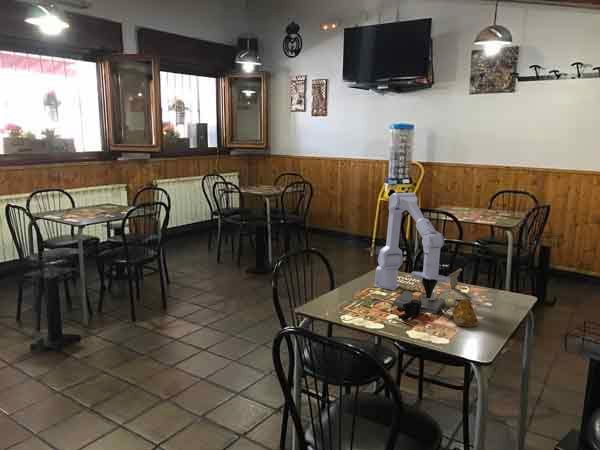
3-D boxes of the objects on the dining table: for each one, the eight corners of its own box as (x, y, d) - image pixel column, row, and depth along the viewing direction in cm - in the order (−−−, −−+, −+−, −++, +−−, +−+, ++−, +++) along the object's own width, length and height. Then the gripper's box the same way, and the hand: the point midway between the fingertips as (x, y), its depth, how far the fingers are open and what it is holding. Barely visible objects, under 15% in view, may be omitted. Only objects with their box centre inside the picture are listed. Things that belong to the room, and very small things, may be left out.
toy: (412, 309, 186) (413, 293, 185) (424, 312, 184) (425, 296, 182) (395, 321, 174) (396, 304, 173) (407, 325, 172) (408, 307, 170)
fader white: (427, 299, 193) (428, 291, 192) (430, 296, 196) (431, 288, 196) (434, 300, 192) (434, 292, 191) (436, 297, 195) (437, 289, 195)
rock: (476, 333, 175) (482, 322, 167) (453, 336, 176) (458, 325, 167) (467, 306, 182) (472, 294, 174) (446, 308, 182) (449, 297, 174)
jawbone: (464, 303, 209) (472, 299, 195) (447, 306, 210) (454, 302, 195) (457, 272, 213) (465, 266, 199) (440, 275, 214) (447, 269, 199)
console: (392, 304, 191) (393, 301, 190) (404, 294, 204) (404, 291, 203) (435, 313, 182) (435, 309, 182) (444, 302, 195) (445, 298, 195)
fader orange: (412, 303, 188) (412, 294, 188) (415, 300, 192) (415, 291, 191) (418, 304, 187) (419, 295, 186) (421, 301, 190) (421, 293, 190)
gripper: (409, 263, 184) (407, 296, 187) (448, 269, 177) (445, 304, 180) (415, 259, 190) (412, 292, 193) (452, 265, 183) (449, 298, 186)
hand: (428, 297), depth 186 cm, fingers closed
